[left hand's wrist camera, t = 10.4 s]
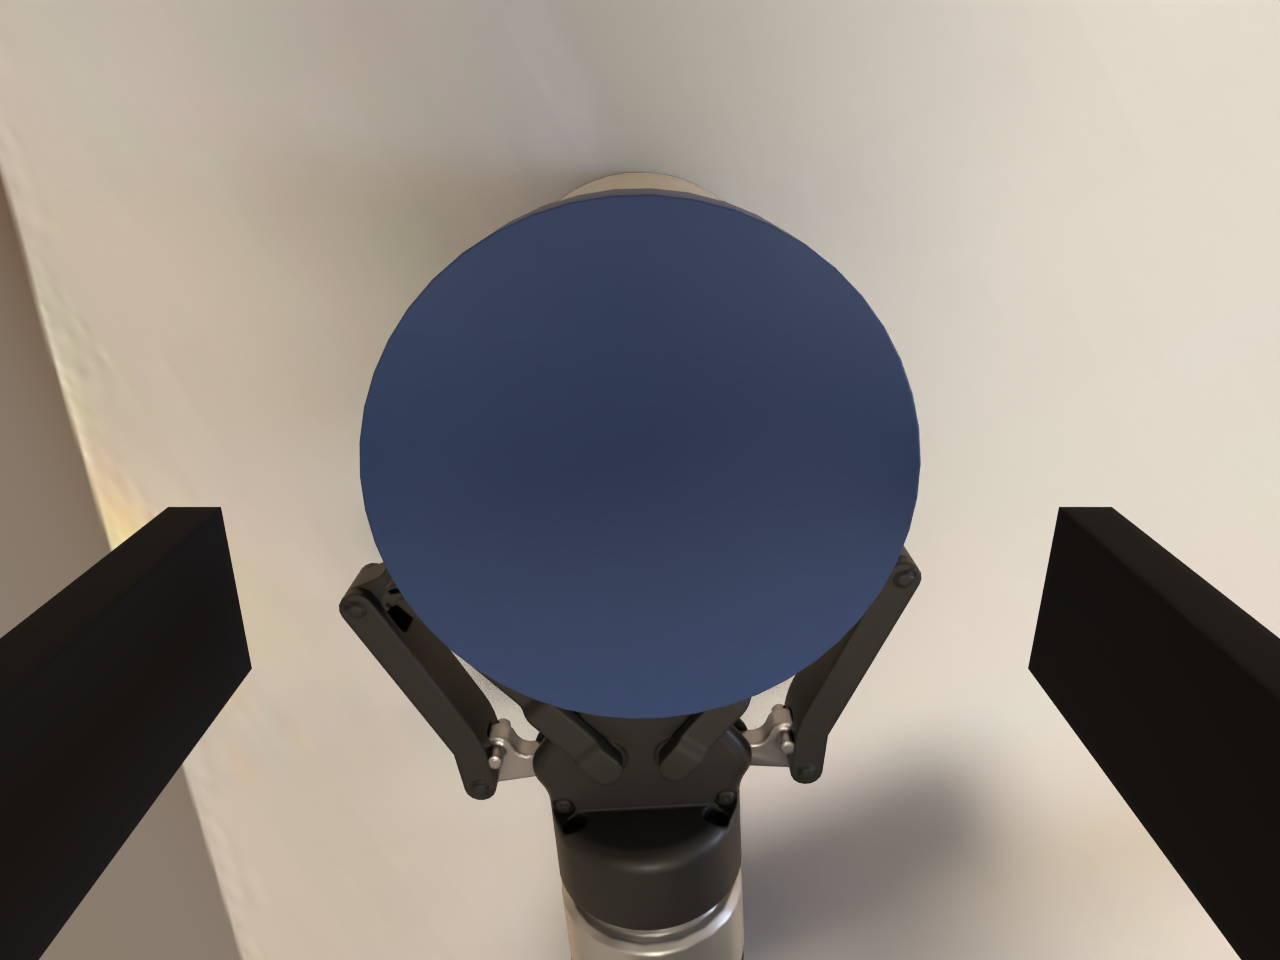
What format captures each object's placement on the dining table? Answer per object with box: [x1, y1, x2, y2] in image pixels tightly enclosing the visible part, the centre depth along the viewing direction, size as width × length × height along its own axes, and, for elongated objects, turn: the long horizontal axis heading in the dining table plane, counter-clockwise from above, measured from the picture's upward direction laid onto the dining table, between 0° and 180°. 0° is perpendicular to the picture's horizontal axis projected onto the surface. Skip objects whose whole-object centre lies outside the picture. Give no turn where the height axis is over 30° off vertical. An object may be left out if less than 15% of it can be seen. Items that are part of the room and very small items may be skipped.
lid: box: [360, 188, 921, 719], centre depth 18 cm, size 11×11×2 cm
